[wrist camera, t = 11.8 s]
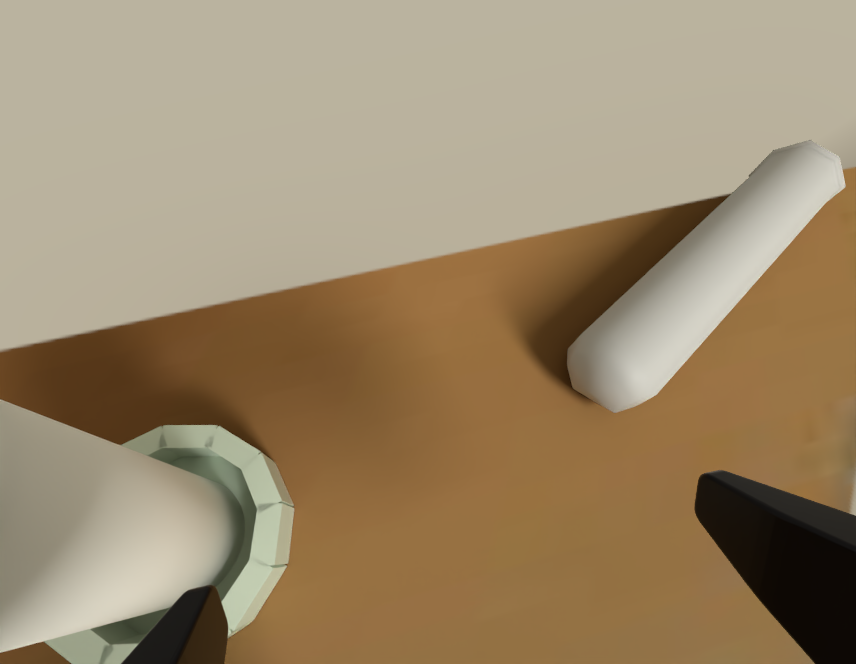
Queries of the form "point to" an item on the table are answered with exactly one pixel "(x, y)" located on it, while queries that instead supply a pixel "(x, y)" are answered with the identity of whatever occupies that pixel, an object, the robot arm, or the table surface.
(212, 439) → the holder
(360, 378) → the table surface
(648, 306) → the tube
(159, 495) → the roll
